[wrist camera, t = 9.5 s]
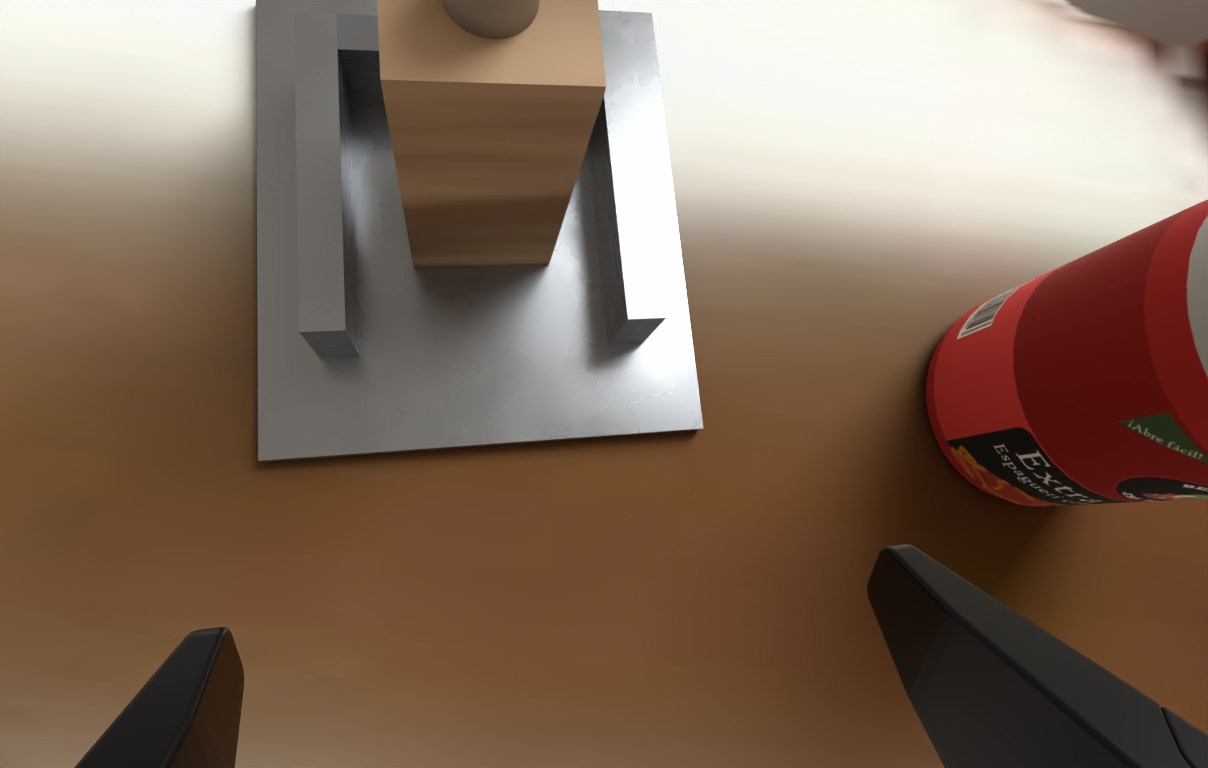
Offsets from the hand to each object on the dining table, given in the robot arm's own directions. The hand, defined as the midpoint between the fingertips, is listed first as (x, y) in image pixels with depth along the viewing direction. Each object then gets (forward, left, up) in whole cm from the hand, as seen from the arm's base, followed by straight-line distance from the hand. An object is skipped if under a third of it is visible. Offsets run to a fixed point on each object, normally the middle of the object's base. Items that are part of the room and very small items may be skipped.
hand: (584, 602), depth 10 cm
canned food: (+12, -16, -14) cm, 24 cm away
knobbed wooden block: (+11, +5, -13) cm, 18 cm away
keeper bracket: (+11, +5, -13) cm, 18 cm away
